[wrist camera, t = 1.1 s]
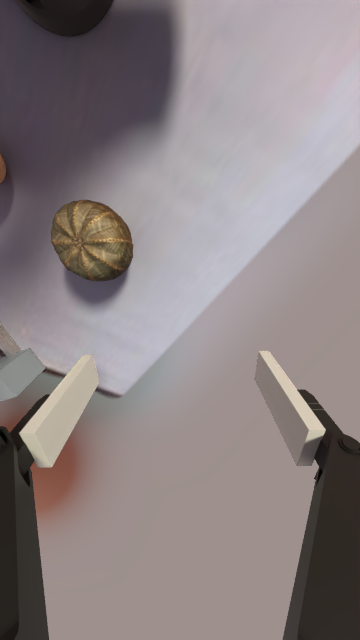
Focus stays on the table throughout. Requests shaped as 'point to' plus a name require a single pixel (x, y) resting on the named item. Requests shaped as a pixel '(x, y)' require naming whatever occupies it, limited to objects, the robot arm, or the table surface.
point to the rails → (8, 344)
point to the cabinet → (18, 373)
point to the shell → (92, 240)
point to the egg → (2, 168)
